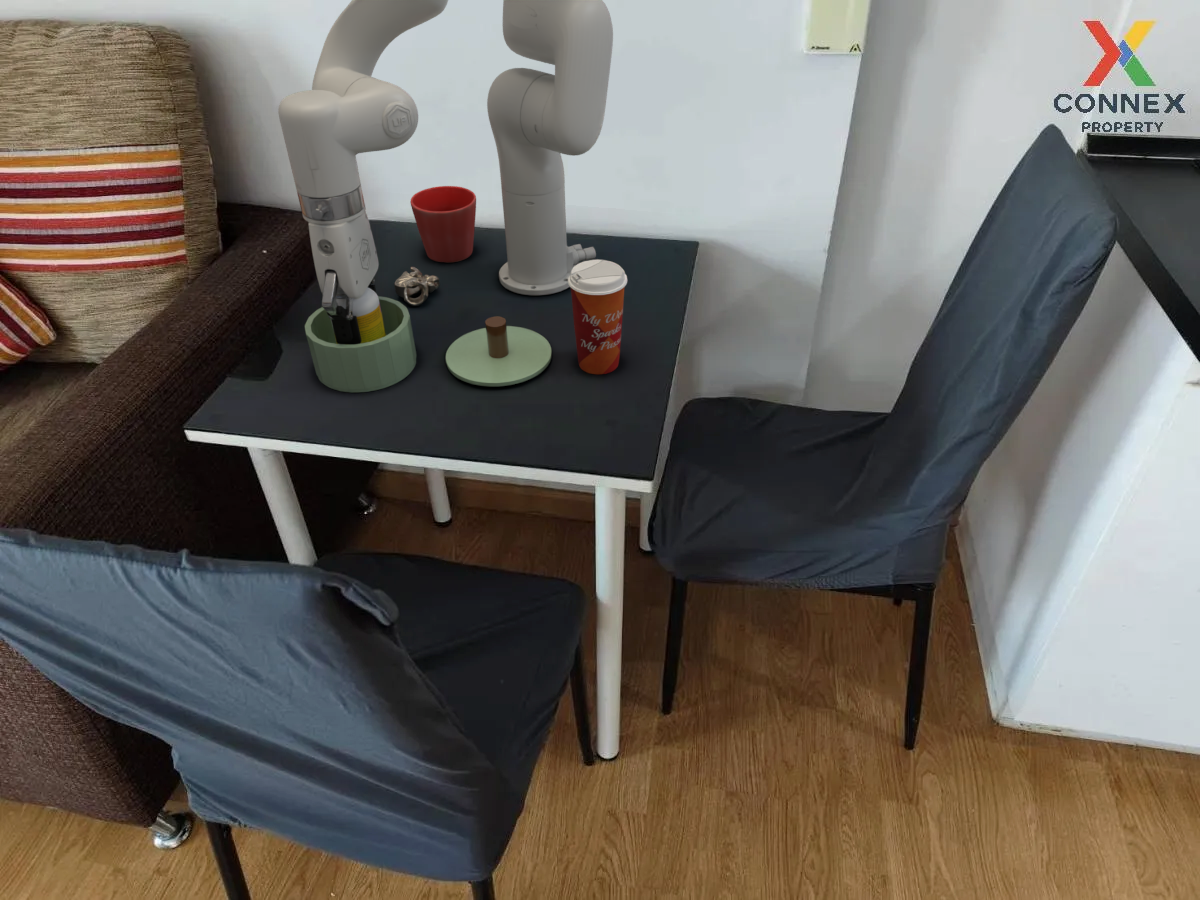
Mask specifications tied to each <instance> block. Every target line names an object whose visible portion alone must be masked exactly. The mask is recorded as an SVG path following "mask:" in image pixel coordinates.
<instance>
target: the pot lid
mask: <svg viewBox="0 0 1200 900" xmlns="http://www.w3.org/2000/svg"><path fill="white" fill-rule="evenodd" d="M484 324H485V327H482V328H478V329H476V330H472V331H469V332H467V333H464V334H463V335H461V336H460V337H458V338H457V339H455V340H454V341H453V342H452V343H451V344H450V345H449V347H448V348H447V350H446V353H445V364H446V367H447V369H448V371H449V372H450V373H451V374H452V375H453V376H454V377H455V378H457V379H458V380H461V381H462V382H465V383H468V384H470V385H476V386H481V387H505V386H512V385H515V384H520V383H524V382H526V381H528V380H531V379H534V378H535V377H537V376H539V375H540V374H542V372H544V371H545V370H546V369H547V367H548V366H549V364H550V363H551V360H552V347H551V344H550V343H549V341H548V340H547V338H546V337H544V336H543V335H541V334H540V333H538V332H536V331H534V330H532V329H529V328H525V327H520V326H512V325H507V320H506V318H505V317H503V316H497V315H495V316H491V317H488V318H486V320H485V321H484Z"/></svg>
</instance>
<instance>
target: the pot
mask: <svg viewBox="0 0 1200 900" xmlns="http://www.w3.org/2000/svg"><path fill="white" fill-rule="evenodd" d="M378 298H379V302H380V307H381V313H382V318H383V323H384V328H385V333H386V336H385V337H383V338H380V339H377V340H374V341H371V342H366V343H361V344H352V345H340V344H337V343H336V339H335V335H334V331H333V326H332V322H331V319H330V318H329V315H328V314H327V313H326V310H325V309H324V308H323V307H322V306H321V307H320V308H318V309H316V310H315V311H314V312H313V313H312V314H310V316H308V318H307V320H306V322H305V324H304V332H305V336H306V341H307V343H308V348H309V352H310V355H311V359H312V363H313V368H314V370H315V374H316V376H317V378H318V380H319V382H320V383H321V384H323V385H324V386H326V387H327V388H329V389H332V390H335V391H339V392H344V393H367V392H369V393H370V392H373V391H374V392H375V391H378V390H383V389H385V388H388V387H391V386H393V385H395V384H397V383H399V382H401V381H402V380H404V379H405V378H406V377H408V376H409V375H410V374H411V373H412V372H413V371H414V369H415V367H416V364H417V351H416V345H415V338H414V333H413V327H412V320H411V315H410V312H409V309H408V308H407V306H406V305H404V304H403V303H402V302H401V301H398V300H396V299H393V298H391V297H387V296H379V295H378Z"/></svg>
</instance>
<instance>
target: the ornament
mask: <svg viewBox="0 0 1200 900" xmlns="http://www.w3.org/2000/svg"><path fill="white" fill-rule="evenodd" d="M410 271H411V272H408V271H407V270H405V271H404V272H402V274H401V275H400V276H399V277H398V278H397V279H395V282H394V290H395V293H396V295H397V296H399V297H401V298H403V299H404V300H403V301H404V302H405V303H407V304H408V305H409V306H411V307H419V306H422V305H423V304H424V302H425V301H427V299H428V297H429V293H430V294H431V293H433V292H434V291H435V290H436V289H438V288H439V287H440V285H441V283H440V278H439V277H438V276H437V275H433V274H432V275H429V274H423V273H422V272H421V270H419V269H418V268H416V267H415V266H410ZM419 293H421V294H420V295H419V296H418V297H413V296H415V295H417V294H419Z"/></svg>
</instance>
